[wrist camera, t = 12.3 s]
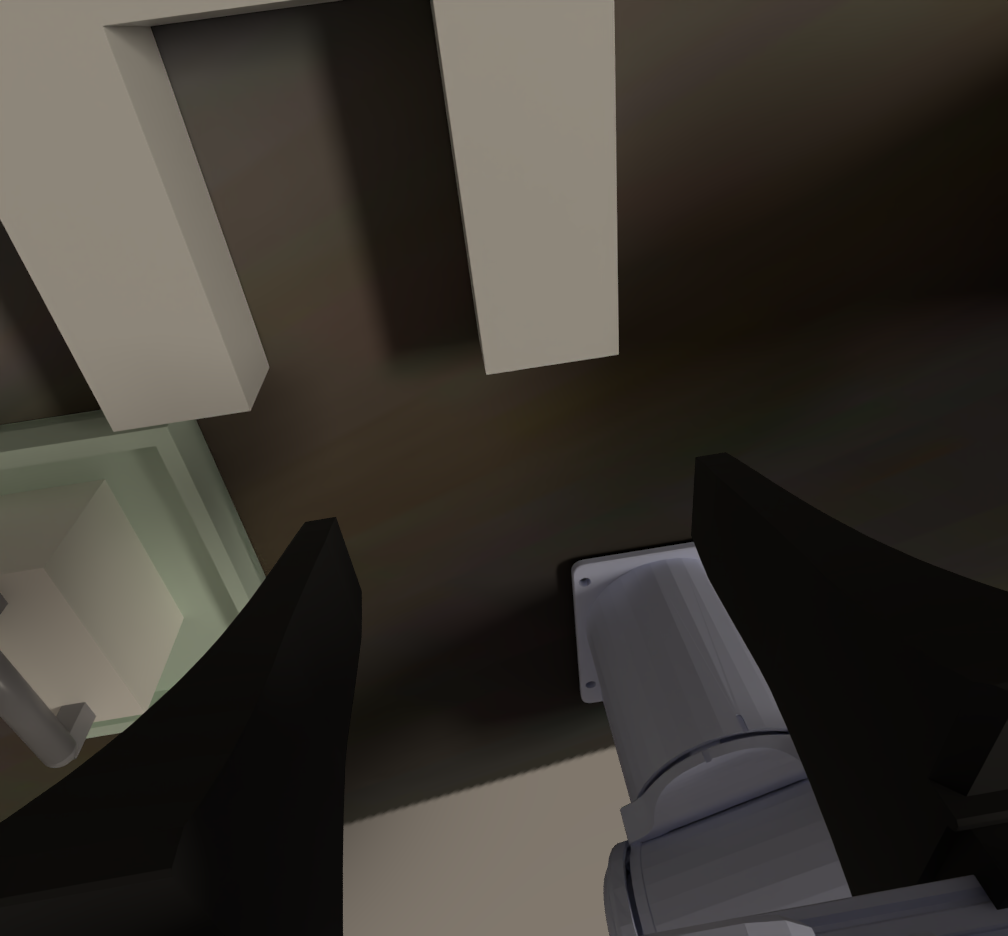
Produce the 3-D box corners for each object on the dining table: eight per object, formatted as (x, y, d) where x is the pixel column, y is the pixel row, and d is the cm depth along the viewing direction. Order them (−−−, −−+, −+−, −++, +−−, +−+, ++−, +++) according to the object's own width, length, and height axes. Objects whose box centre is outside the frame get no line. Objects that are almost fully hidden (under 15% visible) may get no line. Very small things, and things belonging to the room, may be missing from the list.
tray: (305, 665, 30) (298, 703, 28) (62, 705, 29) (41, 745, 28) (186, 396, 22) (167, 427, 20) (-148, 447, 21) (-194, 482, 20)
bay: (596, 317, 22) (619, 354, 19) (148, 385, 21) (113, 431, 19) (578, -198, 15) (610, -243, 12) (-88, -112, 14) (-193, -142, 12)
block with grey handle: (184, 617, 26) (124, 766, 21) (85, 633, 26) (1, 787, 21) (105, 479, 23) (7, 619, 17) (-12, 497, 22) (-147, 644, 17)
